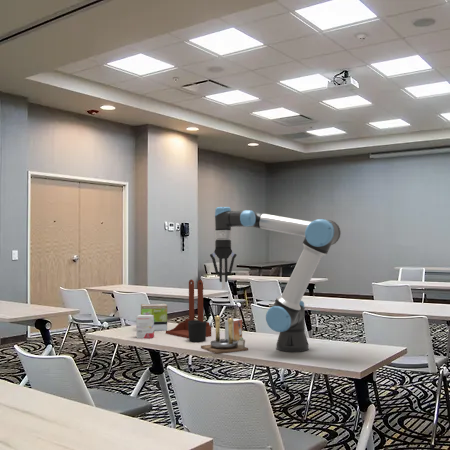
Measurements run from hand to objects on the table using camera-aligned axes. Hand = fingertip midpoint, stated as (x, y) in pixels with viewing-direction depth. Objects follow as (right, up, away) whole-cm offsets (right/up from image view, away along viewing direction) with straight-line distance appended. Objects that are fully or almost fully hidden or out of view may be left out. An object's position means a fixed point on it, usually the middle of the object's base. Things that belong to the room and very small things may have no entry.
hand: (223, 288), depth 256 cm
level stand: (0, -28, -1) cm, 28 cm away
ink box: (-42, -30, +32) cm, 61 cm away
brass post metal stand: (0, -27, 0) cm, 27 cm away
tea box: (-41, -31, +58) cm, 77 cm away
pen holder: (-14, -29, +21) cm, 39 cm away
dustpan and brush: (-20, -30, +39) cm, 53 cm away
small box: (+5, -29, +22) cm, 37 cm away
